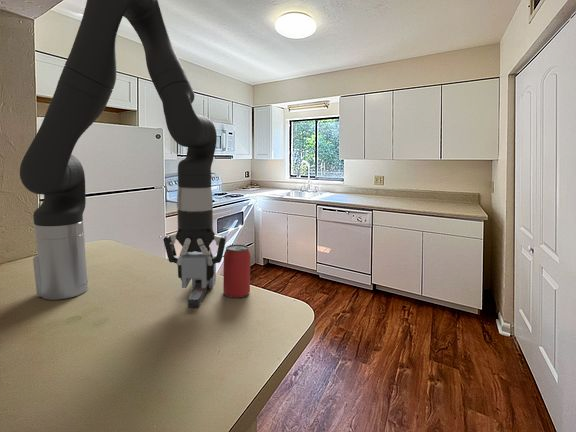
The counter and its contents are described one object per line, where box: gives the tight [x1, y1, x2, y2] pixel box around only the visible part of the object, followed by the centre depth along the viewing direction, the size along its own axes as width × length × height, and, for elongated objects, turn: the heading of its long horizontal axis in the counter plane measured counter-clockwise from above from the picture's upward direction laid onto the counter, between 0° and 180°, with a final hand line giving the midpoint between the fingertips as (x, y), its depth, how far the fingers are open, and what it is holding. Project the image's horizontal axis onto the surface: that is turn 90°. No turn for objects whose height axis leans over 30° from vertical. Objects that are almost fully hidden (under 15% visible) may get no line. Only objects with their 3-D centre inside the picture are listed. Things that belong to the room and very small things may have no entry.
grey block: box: [181, 251, 209, 289], centre depth 73 cm, size 5×6×7 cm
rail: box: [187, 280, 209, 309], centre depth 79 cm, size 2×16×2 cm, turn 5°
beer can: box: [222, 244, 252, 299], centre depth 79 cm, size 7×7×12 cm
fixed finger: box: [191, 255, 217, 290], centre depth 84 cm, size 5×6×7 cm
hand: (196, 279), depth 73 cm, fingers closed on grey block, 5 cm apart
